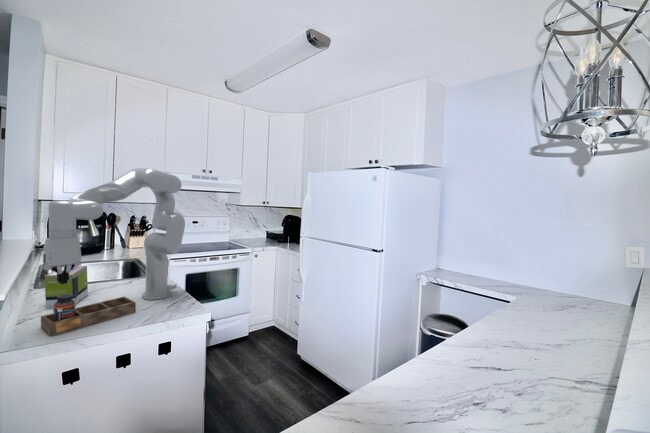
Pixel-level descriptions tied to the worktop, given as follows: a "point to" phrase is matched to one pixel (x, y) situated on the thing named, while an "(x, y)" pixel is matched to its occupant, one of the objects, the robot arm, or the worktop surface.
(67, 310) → the supplement bottle
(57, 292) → the tea box
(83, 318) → the wooden compartment tray
